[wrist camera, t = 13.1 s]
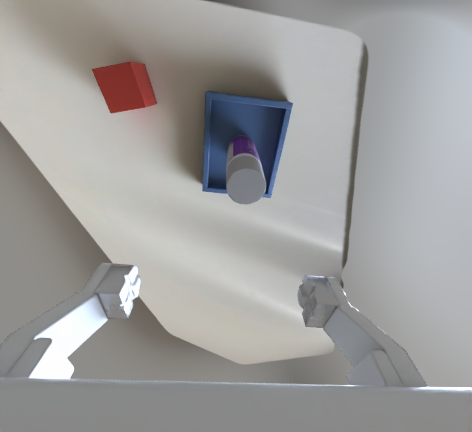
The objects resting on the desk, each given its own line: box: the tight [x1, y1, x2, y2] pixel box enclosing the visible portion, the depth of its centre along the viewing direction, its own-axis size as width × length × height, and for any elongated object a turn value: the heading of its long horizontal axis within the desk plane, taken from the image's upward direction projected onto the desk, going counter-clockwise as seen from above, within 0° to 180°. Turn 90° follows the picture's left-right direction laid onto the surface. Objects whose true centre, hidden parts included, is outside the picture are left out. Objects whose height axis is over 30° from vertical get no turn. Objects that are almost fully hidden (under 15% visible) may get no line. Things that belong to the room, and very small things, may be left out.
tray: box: [203, 91, 293, 198], centre depth 35 cm, size 16×13×3 cm
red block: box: [92, 62, 157, 113], centre depth 29 cm, size 5×5×5 cm
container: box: [226, 135, 266, 204], centre depth 29 cm, size 5×5×15 cm
